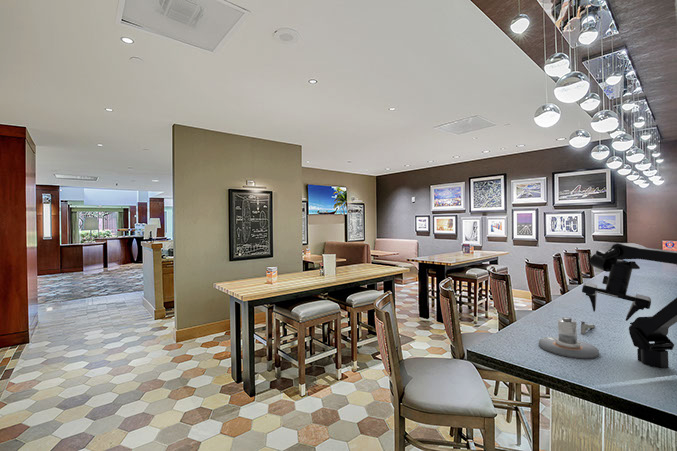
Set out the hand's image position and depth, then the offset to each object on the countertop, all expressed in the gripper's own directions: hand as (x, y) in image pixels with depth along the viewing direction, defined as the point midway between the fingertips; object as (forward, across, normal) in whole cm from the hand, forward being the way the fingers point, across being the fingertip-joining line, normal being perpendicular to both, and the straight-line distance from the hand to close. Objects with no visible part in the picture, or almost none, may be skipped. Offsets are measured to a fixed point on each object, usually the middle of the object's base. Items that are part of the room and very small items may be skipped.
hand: (609, 315), depth 116 cm
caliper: (+18, +6, -20) cm, 27 cm away
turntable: (+12, +9, +13) cm, 20 cm away
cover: (+11, +9, +13) cm, 19 cm away
